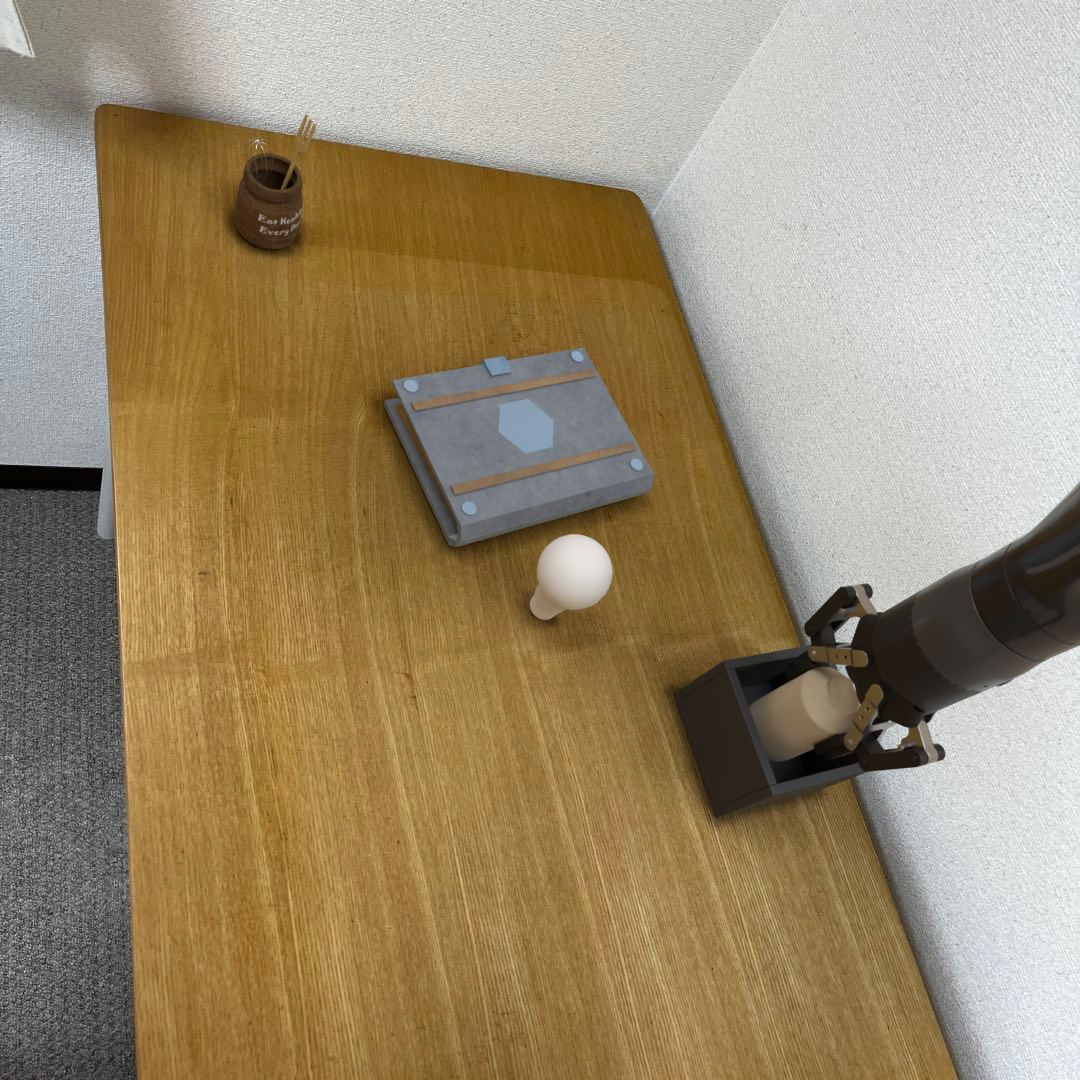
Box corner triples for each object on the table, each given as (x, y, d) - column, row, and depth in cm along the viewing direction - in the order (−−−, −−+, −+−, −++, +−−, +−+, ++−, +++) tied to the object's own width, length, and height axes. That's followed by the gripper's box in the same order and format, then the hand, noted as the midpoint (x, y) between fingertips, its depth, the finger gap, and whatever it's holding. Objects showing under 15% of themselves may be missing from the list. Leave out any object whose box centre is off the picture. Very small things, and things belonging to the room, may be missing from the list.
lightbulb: (541, 567, 81) (590, 508, 72) (585, 619, 80) (639, 566, 71) (493, 600, 78) (537, 543, 69) (537, 655, 77) (588, 605, 68)
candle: (732, 733, 75) (802, 696, 67) (757, 687, 79) (828, 645, 70) (783, 776, 75) (860, 743, 67) (806, 727, 78) (883, 690, 70)
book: (451, 556, 78) (468, 530, 74) (380, 403, 83) (392, 370, 79) (638, 502, 89) (662, 476, 85) (566, 369, 94) (585, 338, 90)
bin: (815, 791, 81) (879, 767, 74) (715, 818, 76) (773, 795, 69) (770, 674, 85) (826, 641, 78) (673, 693, 80) (723, 660, 73)
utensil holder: (221, 215, 87) (230, 110, 77) (276, 199, 90) (291, 96, 80) (257, 259, 86) (270, 158, 76) (312, 240, 89) (331, 142, 79)
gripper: (875, 541, 60) (739, 635, 74) (972, 752, 54) (806, 810, 68) (953, 532, 63) (809, 624, 77) (1053, 730, 58) (878, 790, 71)
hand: (808, 711), depth 72 cm, fingers closed on candle, 5 cm apart
